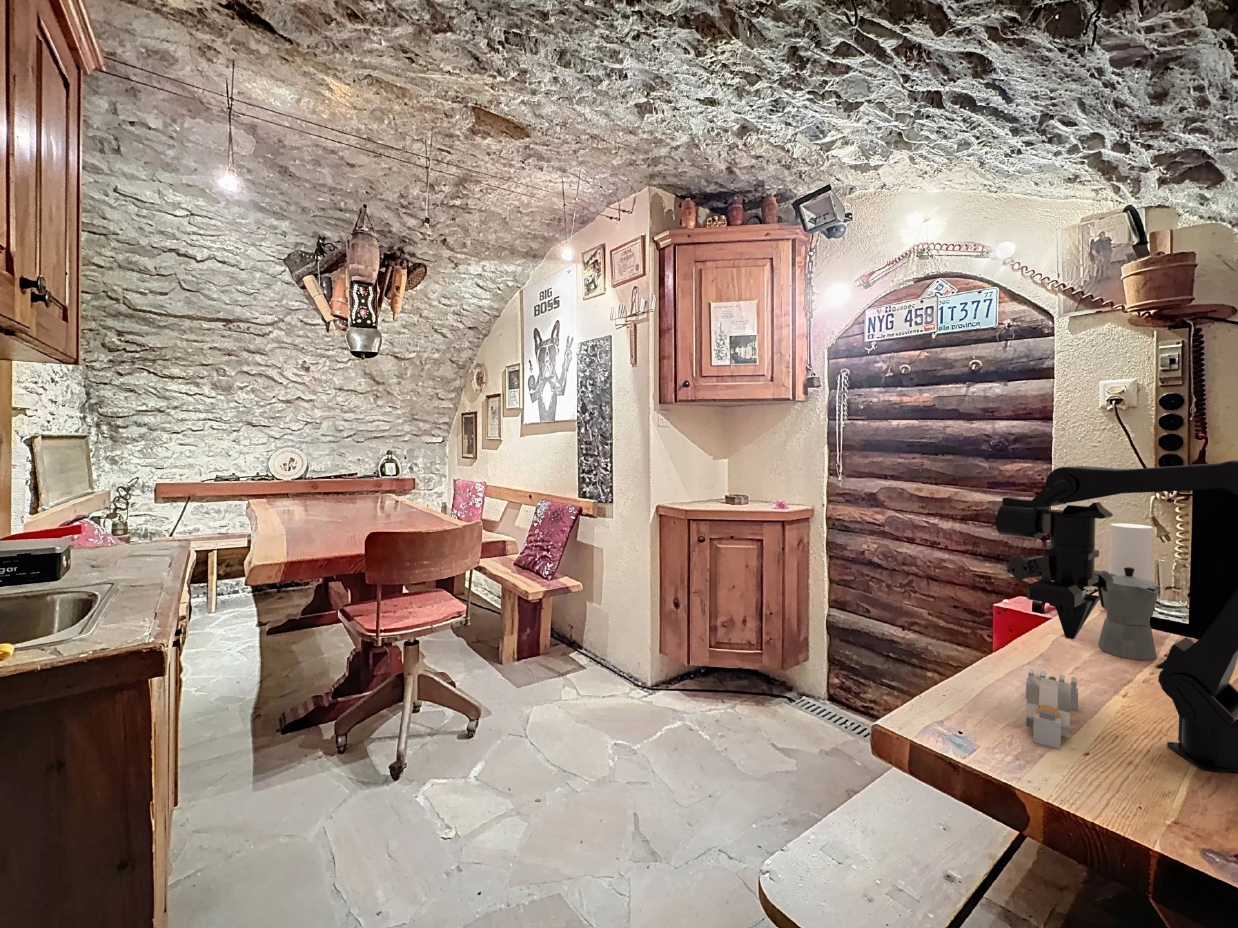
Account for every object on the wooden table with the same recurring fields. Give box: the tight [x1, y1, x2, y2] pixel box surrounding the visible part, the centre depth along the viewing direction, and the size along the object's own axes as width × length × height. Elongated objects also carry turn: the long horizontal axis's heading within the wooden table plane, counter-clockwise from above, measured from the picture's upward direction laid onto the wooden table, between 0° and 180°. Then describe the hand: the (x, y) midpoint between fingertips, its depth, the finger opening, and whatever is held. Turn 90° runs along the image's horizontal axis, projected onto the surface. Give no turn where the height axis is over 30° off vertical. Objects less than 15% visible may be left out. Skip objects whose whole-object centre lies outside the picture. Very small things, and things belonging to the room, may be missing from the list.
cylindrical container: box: [1108, 522, 1154, 624], centre depth 129 cm, size 7×7×25 cm
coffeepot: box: [1096, 567, 1161, 661], centre depth 120 cm, size 15×9×18 cm, turn 175°
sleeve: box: [1025, 675, 1071, 738], centre depth 87 cm, size 4×5×7 cm
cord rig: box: [1025, 667, 1079, 750], centre depth 91 cm, size 19×7×5 cm, turn 141°
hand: (1070, 638), depth 93 cm, fingers closed
